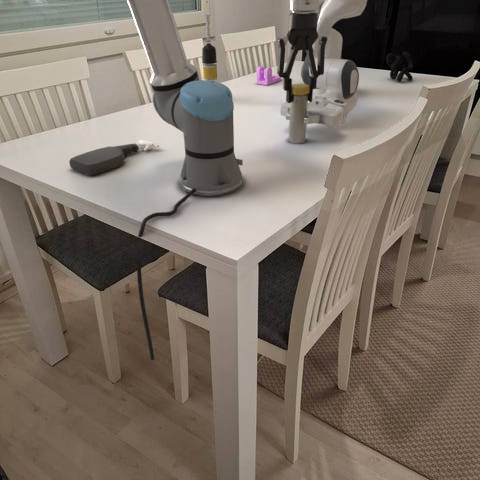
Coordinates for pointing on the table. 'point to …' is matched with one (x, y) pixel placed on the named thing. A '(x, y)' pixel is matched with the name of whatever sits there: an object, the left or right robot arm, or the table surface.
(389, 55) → the squiggle
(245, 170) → the table surface
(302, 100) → the jar
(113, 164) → the spray bottle
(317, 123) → the right robot arm
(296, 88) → the lid
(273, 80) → the bracket
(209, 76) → the black and yellow bottle
